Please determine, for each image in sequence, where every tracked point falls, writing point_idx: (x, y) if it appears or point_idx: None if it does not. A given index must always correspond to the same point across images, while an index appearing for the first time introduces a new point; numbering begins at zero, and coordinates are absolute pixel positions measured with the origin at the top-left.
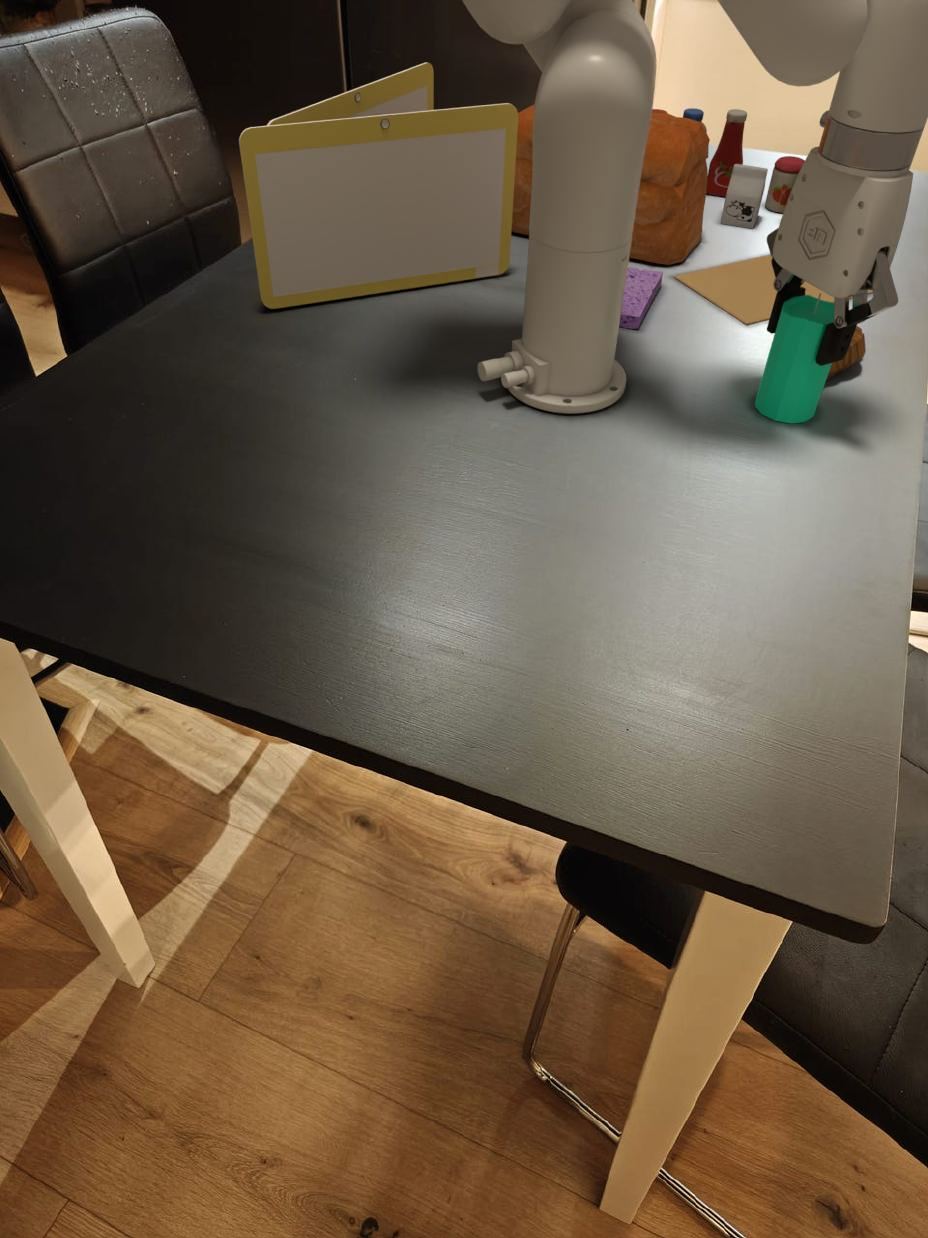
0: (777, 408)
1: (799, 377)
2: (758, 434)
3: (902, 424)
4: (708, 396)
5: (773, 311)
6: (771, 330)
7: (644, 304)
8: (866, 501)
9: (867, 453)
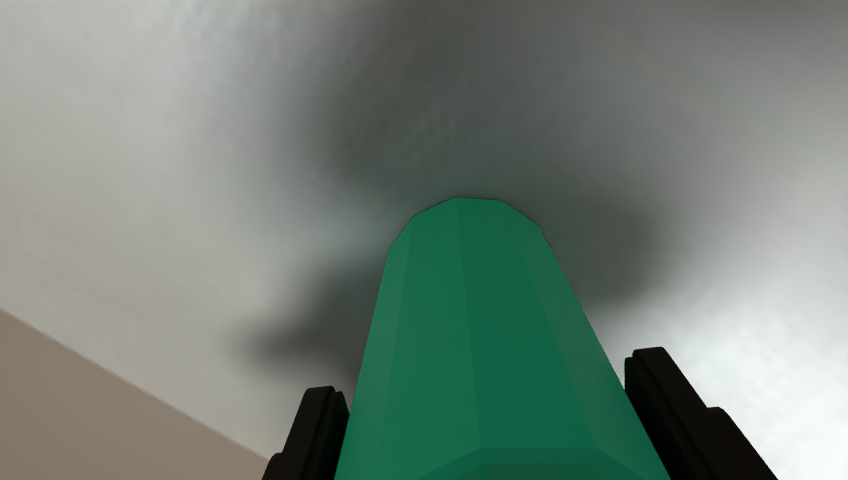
0: (415, 228)
1: (382, 315)
2: (363, 131)
3: None
4: (612, 88)
5: (700, 421)
6: (637, 358)
7: None
8: (26, 237)
9: (227, 348)
